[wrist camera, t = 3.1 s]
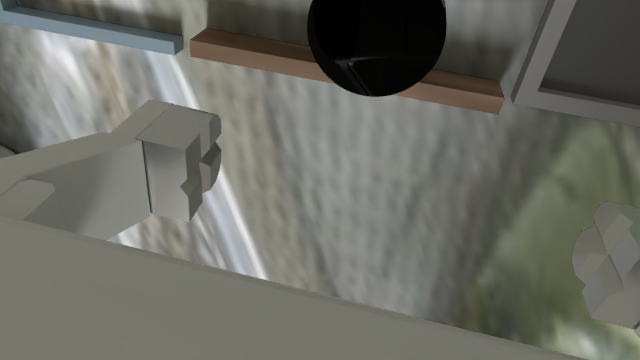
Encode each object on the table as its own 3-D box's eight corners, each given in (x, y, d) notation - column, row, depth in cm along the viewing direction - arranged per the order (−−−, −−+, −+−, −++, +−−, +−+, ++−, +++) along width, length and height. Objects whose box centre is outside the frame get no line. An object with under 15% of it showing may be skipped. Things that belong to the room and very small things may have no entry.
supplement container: (395, 56, 33) (384, 121, 24) (320, -3, 31) (281, 44, 23) (463, -25, 29) (479, 18, 20) (381, -96, 28) (362, -80, 19)
